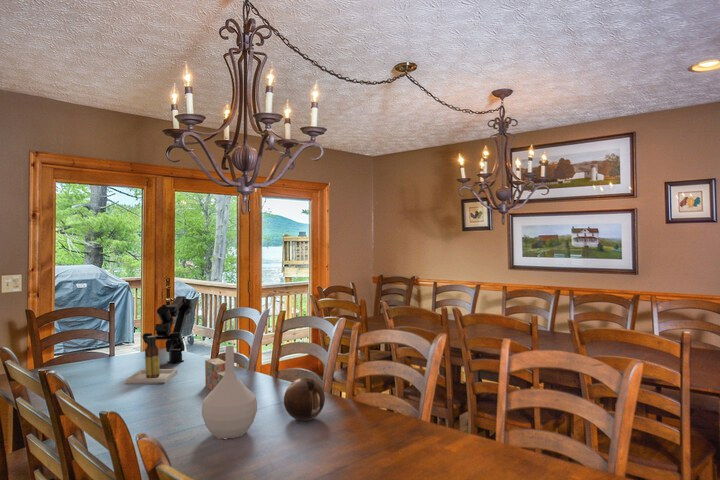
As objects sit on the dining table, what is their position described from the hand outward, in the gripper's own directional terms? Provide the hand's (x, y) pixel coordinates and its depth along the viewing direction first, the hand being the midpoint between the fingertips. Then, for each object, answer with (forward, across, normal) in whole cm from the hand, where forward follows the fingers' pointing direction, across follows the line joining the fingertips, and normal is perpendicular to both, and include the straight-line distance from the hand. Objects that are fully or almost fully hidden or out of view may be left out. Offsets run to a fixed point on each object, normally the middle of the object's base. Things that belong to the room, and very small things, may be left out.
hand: (158, 352), depth 248 cm
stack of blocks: (+29, +38, -13) cm, 49 cm away
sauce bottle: (+13, 0, +2) cm, 13 cm away
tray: (+13, 0, +2) cm, 13 cm away
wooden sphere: (+57, +78, -42) cm, 105 cm away
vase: (+66, +53, -50) cm, 98 cm away
